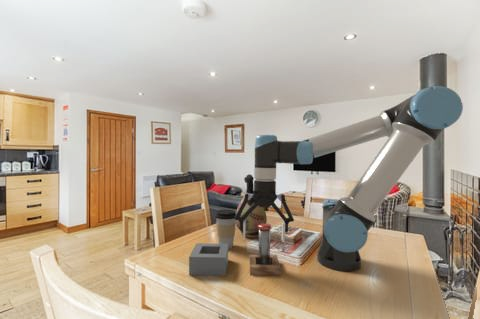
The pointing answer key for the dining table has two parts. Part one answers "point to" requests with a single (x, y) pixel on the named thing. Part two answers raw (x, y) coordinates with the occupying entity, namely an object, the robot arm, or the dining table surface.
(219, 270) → the block
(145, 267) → the dining table surface
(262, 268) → the mount collar
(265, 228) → the lock pin
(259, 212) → the ceramic jug
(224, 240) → the coffee cup
